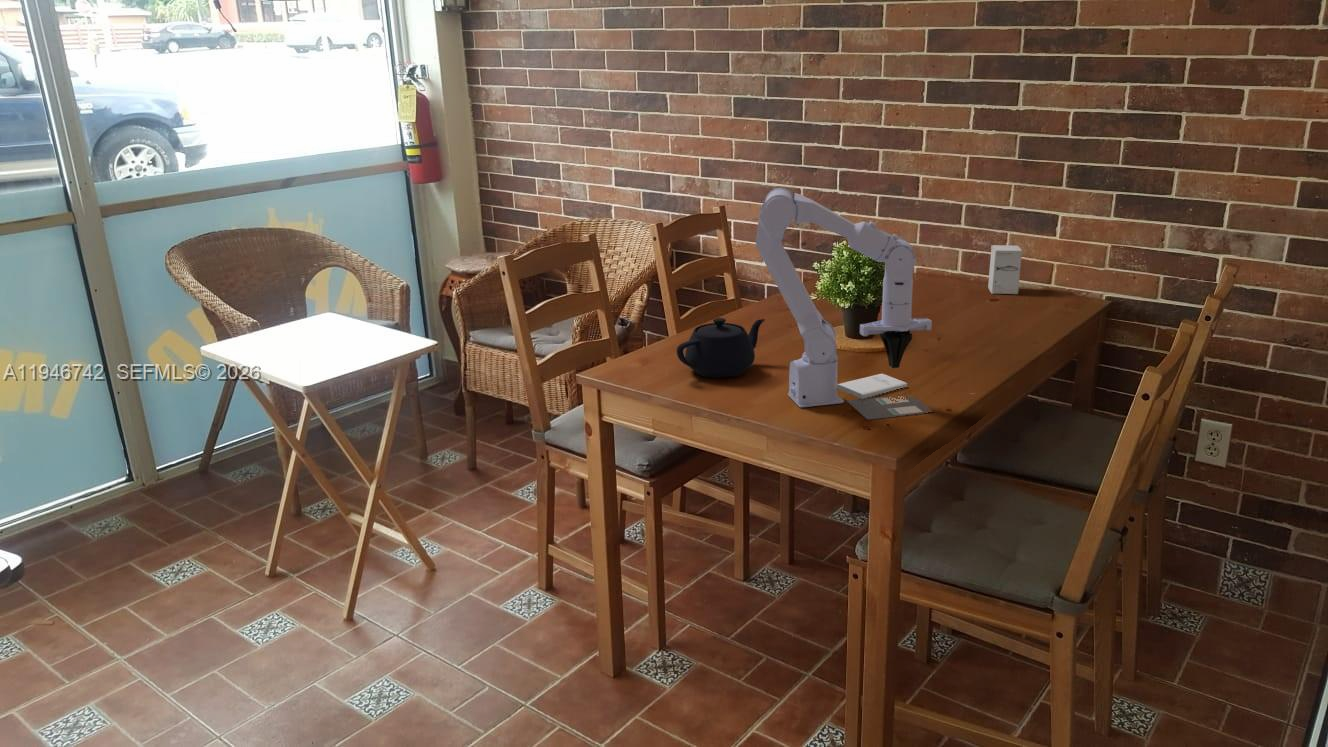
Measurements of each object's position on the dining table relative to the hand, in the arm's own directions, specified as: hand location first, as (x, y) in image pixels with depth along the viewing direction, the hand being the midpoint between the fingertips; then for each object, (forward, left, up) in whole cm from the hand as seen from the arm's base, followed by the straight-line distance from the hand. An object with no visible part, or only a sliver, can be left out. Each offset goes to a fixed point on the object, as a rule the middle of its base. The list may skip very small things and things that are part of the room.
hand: (894, 366), depth 207 cm
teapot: (-28, +29, -8) cm, 41 cm away
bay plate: (-2, -3, -7) cm, 8 cm away
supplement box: (+66, +73, -8) cm, 99 cm away
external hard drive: (-1, +8, -8) cm, 12 cm away
